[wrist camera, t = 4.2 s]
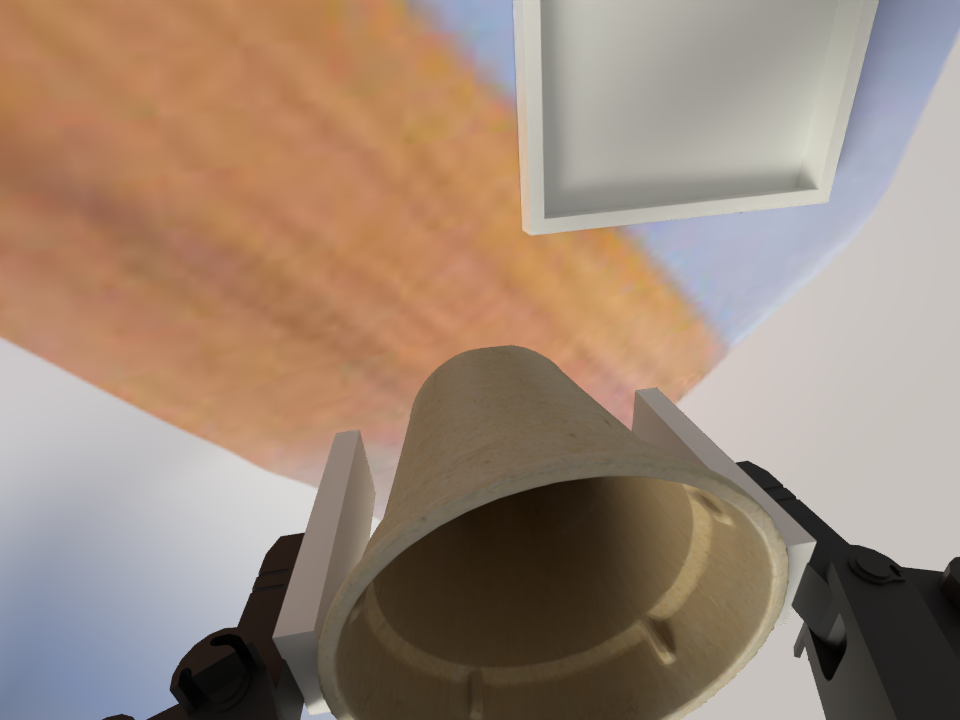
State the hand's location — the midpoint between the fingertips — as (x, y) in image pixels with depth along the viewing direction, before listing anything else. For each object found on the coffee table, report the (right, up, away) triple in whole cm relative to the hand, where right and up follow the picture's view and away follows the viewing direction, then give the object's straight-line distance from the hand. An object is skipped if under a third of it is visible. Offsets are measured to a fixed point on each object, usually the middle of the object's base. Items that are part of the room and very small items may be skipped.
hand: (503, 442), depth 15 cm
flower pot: (0, +1, +2) cm, 2 cm away
